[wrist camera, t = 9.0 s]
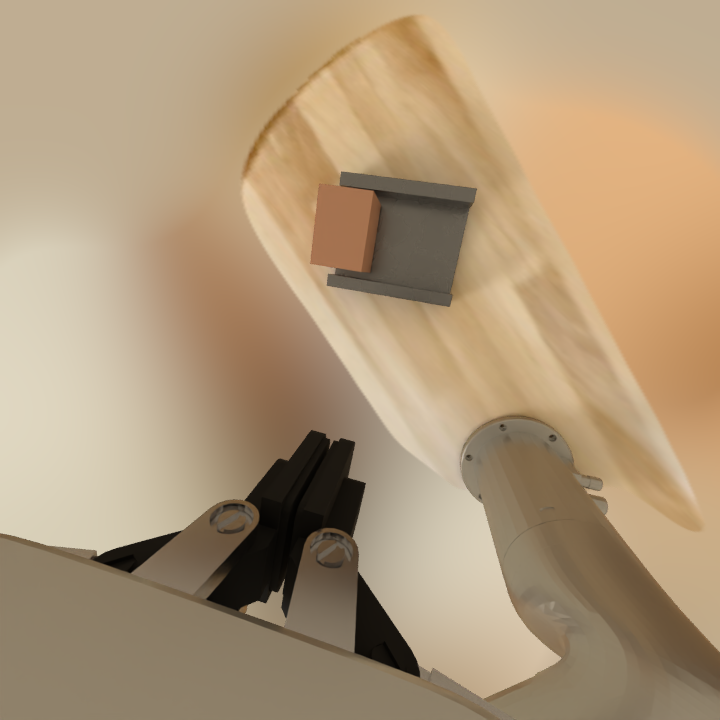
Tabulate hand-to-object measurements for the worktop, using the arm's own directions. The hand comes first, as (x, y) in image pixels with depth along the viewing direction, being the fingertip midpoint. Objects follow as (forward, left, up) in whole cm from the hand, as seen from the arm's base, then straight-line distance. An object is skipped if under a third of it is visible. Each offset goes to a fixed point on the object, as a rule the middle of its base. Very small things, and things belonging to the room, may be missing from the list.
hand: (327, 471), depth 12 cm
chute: (+1, -10, -29) cm, 30 cm away
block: (+6, -10, -27) cm, 30 cm away
